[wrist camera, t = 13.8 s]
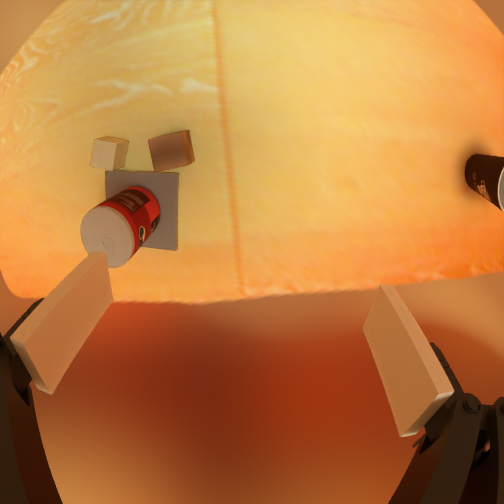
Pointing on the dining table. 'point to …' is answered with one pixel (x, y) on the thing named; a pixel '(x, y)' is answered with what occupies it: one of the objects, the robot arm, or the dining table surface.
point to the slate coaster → (164, 192)
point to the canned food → (121, 224)
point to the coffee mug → (487, 177)
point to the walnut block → (171, 151)
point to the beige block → (109, 153)
